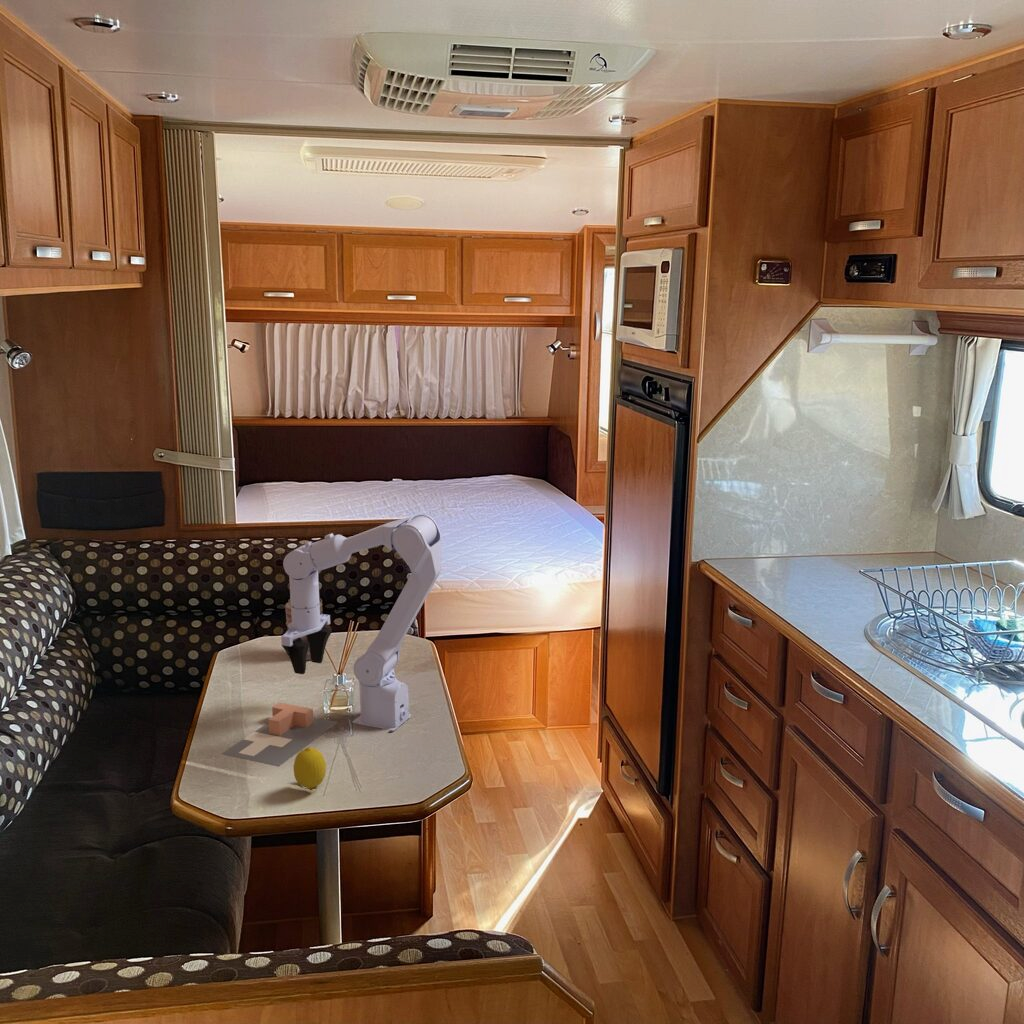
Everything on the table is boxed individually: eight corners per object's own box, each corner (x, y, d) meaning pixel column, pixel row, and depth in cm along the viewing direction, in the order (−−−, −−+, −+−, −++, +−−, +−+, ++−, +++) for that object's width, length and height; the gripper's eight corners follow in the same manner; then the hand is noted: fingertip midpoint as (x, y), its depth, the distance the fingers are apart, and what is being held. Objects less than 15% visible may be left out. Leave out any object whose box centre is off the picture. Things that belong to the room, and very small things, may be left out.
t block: (280, 716, 199) (279, 702, 198) (313, 722, 196) (312, 708, 195) (257, 731, 192) (256, 717, 191) (291, 738, 189) (290, 723, 188)
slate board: (338, 724, 196) (338, 722, 196) (279, 769, 178) (279, 766, 178) (284, 714, 201) (284, 711, 201) (221, 756, 183) (221, 753, 183)
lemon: (313, 778, 175) (310, 737, 173) (333, 788, 171) (331, 746, 170) (288, 790, 171) (285, 748, 169) (308, 800, 167) (306, 757, 165)
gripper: (308, 592, 205) (311, 653, 208) (267, 613, 192) (271, 677, 195) (337, 596, 202) (340, 657, 205) (297, 617, 189) (300, 682, 192)
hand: (308, 667), depth 200 cm, fingers open, 6 cm apart
